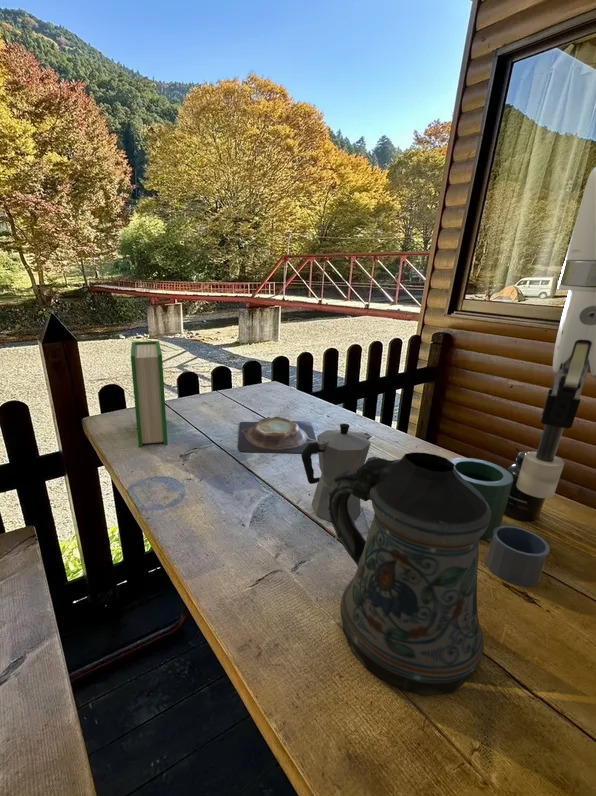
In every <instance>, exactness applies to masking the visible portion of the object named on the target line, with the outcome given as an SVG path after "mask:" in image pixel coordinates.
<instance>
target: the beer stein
mask: <svg viewBox="0 0 596 796" xmlns="http://www.w3.org/2000/svg"><path fill="white" fill-rule="evenodd" d="M449 460H450V459H448V458H446V457H444V456H440V455H439V454H433V453H429V452H408V453H405V454H404V455H403V456H402V457H401V458H399V459H392V460H391V459H390V460H389V459H386V458H381V457H378V456H371V457H368V458H367V459H366V460H365V463H364V465H363V466H362V467H360V468H359V469H358V470H352V471H347V472H344V473H342V474H340V475H338V476H337V477H336V478H335V479H334V481H335V482H334V484H333V485H332V487H331V488H330V491H329V494H328V512H329V516H330V520H331V525H332V527H333V530H334V532H335V534H336V537H337V538H338V540H339V541H340V543H341V545H342V547H343V548H344V550H345V551H346V552H347V554H348V555H349V557H350V559H352V560H353V562H354V563H355V564H356V565H357V569H356V571H355V574H354V575H353V578H352V579H351V580H350V581H349V583H348V584H347V586H346V587H345V589H344V591H343V593H342V595H341V601H340V617H341V622H342V632H343V635H344V637H345V639H346V642H347V644H348V647H349V649H350V651H351V653H352V654H353V656H355V658H356V659H357V660H358V661H359V662H360V663H361V665H362V666H363V667H364V668H365V669H366V670H368V671H369V672H370V673H371V674H373V676H375V677H376V678H378V679H380V680H381V681H383V682H385V683H387V684H389V685H391V686H393V687H395V688H397V689H399V690H400V691H403V692H406V693H411V694H415V695H420V696H424V697H434V696H442V695H447V694H453V693H455V692H456V691H457V690H458V689H459V688H460V687H462V686H463V685H464V684H465V683H466V682H467V681H468V680H469V679H471V678H472V675H473V673H474V671H475V670H476V669H477V667H478V666H479V664H480V663H481V661H482V658H483V654H484V649H485V645H484V634H483V630H482V626H481V624H480V621H479V614H478V574H479V573H478V571H479V557H480V556H479V554H480V551H479V550H480V539H479V538H480V537H481V536H482V535H483V534H484V533H485V531H486V529H487V527H488V526H489V524H490V519H491V510H490V507H489V505H488V503H487V502H486V500H485V499H484V497H483V496H482V495H481V494H480V493H479V492H478V491H477V490H476V489H475V488H474V487H473V486H472V485H471V484H469V483H468V482H466V481H465V480H464V479H463V478H462V477H461V476H460V475H459V473H458V472H457V471H456V470H455V469H454V464H453V463H452V462H451V461H449ZM351 494H352V495H354V496H355V497H357V498H360V500H362V501H364V502H368V501H370V502H371V505H372V509H373V512H374V514H373V518H372V521H371V524H370V527H369V530H368V534H367V536H366V539H365V538H364V536H363V534H362V533H361V531H360V530H359V529H358V527H357V525H356V523H355V520H354V521H353V519H352V517H351V514H350V512H349V509H348V499H349V497H350V495H351Z"/></svg>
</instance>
